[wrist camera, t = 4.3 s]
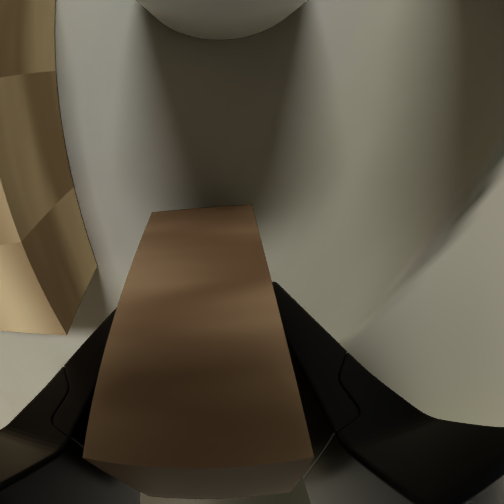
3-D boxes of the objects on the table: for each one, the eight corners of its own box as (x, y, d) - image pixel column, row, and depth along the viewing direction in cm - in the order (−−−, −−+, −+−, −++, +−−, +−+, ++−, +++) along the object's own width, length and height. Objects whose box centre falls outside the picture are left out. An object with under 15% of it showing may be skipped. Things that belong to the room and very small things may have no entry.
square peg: (252, 204, 10) (313, 457, 3) (253, 283, 12) (290, 491, 5) (151, 212, 10) (82, 457, 3) (168, 289, 12) (149, 496, 5)
